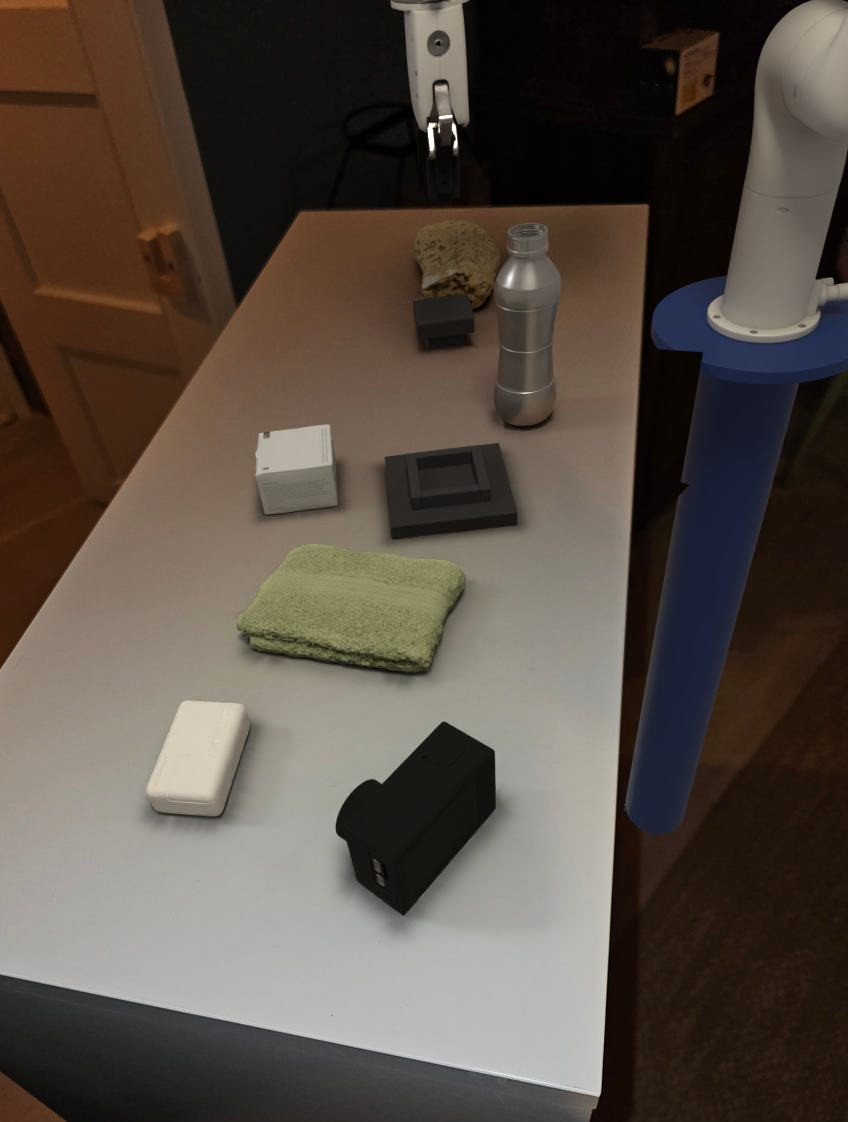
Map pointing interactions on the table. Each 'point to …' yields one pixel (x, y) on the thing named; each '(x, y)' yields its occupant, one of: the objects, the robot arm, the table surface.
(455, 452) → the base pad
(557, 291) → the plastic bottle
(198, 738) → the soap
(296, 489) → the small box
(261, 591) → the washcloth
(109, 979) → the table surface
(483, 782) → the digital camera
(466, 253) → the sponge
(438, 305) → the top pad
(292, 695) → the table surface
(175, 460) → the table surface
